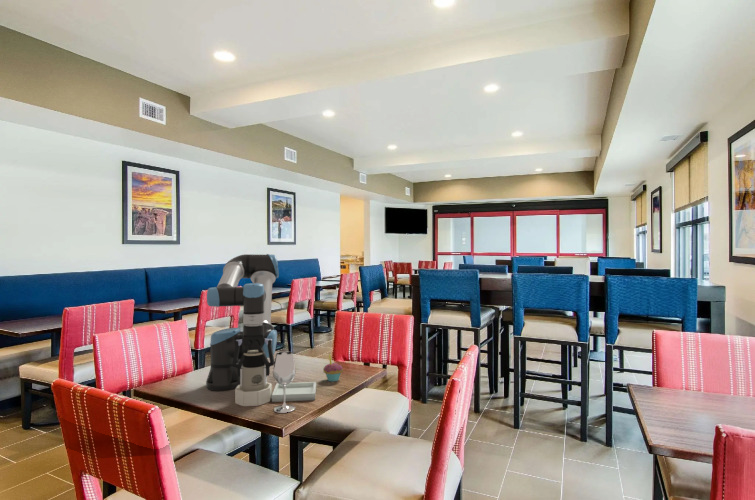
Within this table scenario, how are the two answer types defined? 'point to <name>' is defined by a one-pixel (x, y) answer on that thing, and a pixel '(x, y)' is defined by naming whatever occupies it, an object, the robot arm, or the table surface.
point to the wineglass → (284, 376)
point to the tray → (295, 392)
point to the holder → (253, 396)
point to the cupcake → (333, 370)
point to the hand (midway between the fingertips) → (253, 384)
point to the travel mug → (253, 371)
